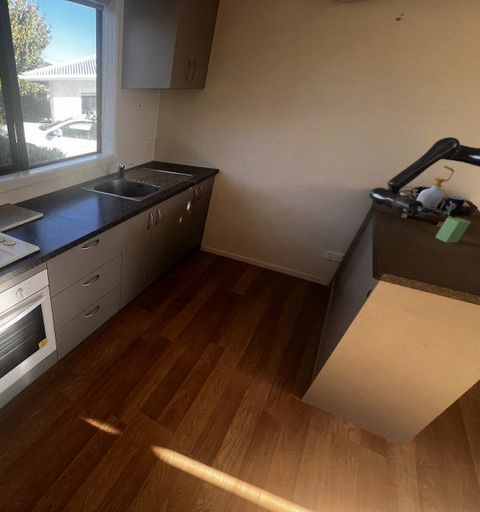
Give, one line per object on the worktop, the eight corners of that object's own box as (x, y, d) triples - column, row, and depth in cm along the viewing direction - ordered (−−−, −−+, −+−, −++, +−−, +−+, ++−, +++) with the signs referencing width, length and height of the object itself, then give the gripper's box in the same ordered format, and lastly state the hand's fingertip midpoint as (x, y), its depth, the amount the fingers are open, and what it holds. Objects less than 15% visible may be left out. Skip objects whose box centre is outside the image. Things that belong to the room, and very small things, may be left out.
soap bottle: (412, 206, 172) (437, 164, 160) (434, 210, 166) (461, 167, 154) (410, 209, 167) (435, 166, 155) (432, 214, 161) (460, 169, 149)
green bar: (445, 237, 134) (458, 217, 129) (457, 242, 130) (471, 221, 125) (434, 237, 134) (447, 217, 129) (445, 242, 130) (459, 221, 125)
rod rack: (447, 224, 147) (452, 215, 145) (441, 227, 145) (447, 218, 142) (406, 215, 160) (411, 206, 157) (400, 217, 157) (405, 208, 155)
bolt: (429, 209, 171) (468, 216, 161) (431, 207, 167) (471, 214, 157) (435, 200, 170) (473, 206, 160) (436, 197, 167) (476, 203, 156)
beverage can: (455, 222, 150) (470, 200, 144) (439, 220, 152) (453, 198, 146) (446, 217, 156) (460, 196, 150) (431, 216, 158) (444, 194, 152)
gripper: (395, 198, 148) (426, 208, 134) (424, 198, 148) (458, 209, 133) (388, 212, 152) (417, 223, 137) (416, 212, 151) (448, 224, 137)
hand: (437, 216), depth 135 cm, fingers open, 8 cm apart
